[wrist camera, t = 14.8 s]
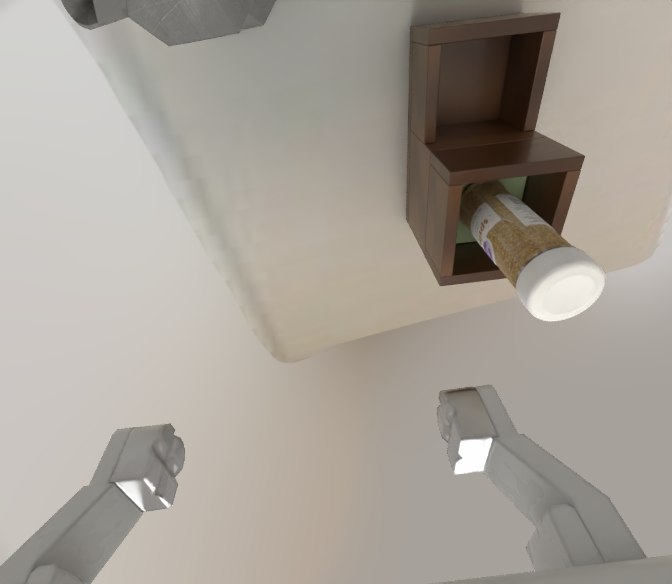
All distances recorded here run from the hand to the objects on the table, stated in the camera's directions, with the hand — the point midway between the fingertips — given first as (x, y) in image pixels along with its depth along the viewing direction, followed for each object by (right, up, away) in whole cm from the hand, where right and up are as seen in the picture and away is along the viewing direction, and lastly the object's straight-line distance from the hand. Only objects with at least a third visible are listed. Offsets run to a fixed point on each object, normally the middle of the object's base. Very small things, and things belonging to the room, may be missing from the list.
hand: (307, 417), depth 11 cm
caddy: (+13, +20, +25) cm, 34 cm away
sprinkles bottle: (+14, +12, +21) cm, 28 cm away
